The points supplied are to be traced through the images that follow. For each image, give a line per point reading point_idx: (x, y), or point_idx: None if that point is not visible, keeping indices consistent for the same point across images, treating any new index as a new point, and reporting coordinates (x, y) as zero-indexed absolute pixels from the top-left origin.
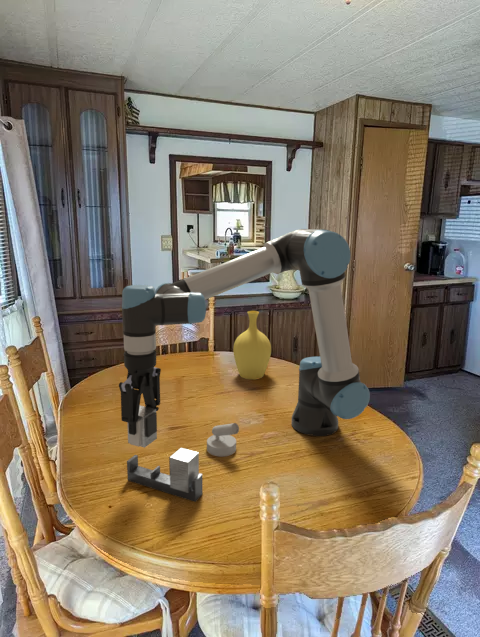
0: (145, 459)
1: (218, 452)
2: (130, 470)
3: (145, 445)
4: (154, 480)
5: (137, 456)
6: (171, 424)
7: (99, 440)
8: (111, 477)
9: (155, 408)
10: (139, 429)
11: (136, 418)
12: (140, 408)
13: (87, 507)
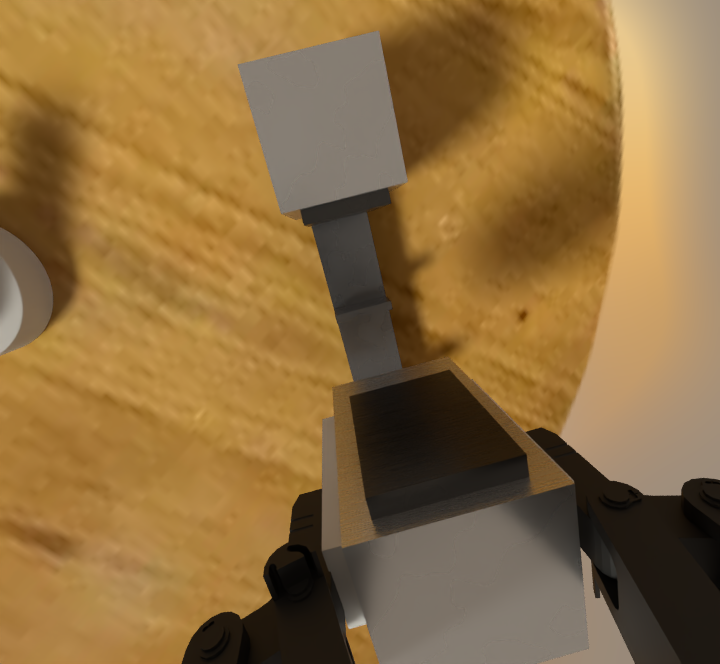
0: (280, 443)
1: (19, 255)
2: None
3: (443, 362)
4: (383, 286)
5: None
6: (42, 569)
7: None
8: None
9: (299, 580)
10: None
11: (625, 512)
12: (439, 652)
13: (560, 361)
